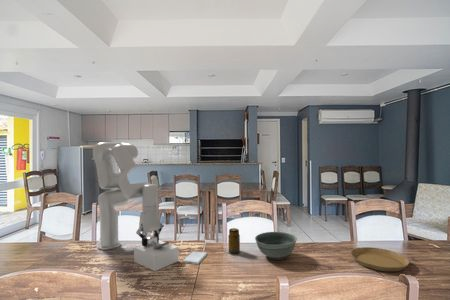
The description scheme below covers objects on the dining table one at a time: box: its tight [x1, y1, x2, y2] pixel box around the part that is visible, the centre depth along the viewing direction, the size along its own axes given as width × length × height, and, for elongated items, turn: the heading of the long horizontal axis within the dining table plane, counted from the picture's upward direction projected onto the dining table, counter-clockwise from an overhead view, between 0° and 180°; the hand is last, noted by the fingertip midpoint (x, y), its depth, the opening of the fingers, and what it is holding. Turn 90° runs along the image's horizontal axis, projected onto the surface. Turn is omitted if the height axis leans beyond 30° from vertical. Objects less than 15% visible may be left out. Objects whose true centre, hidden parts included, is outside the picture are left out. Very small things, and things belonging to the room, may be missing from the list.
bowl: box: [254, 231, 297, 261], centre depth 133 cm, size 21×21×10 cm
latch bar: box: [153, 241, 170, 249], centre depth 126 cm, size 7×5×1 cm
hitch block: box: [133, 239, 179, 272], centre depth 129 cm, size 17×14×7 cm
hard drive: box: [182, 251, 208, 265], centre depth 132 cm, size 2×8×12 cm
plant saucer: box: [350, 246, 410, 273], centre depth 125 cm, size 24×24×3 cm
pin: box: [146, 234, 157, 248], centre depth 132 cm, size 6×6×9 cm
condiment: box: [225, 227, 246, 257], centre depth 139 cm, size 7×8×12 cm
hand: (150, 243), depth 132 cm, fingers closed on pin, 6 cm apart
